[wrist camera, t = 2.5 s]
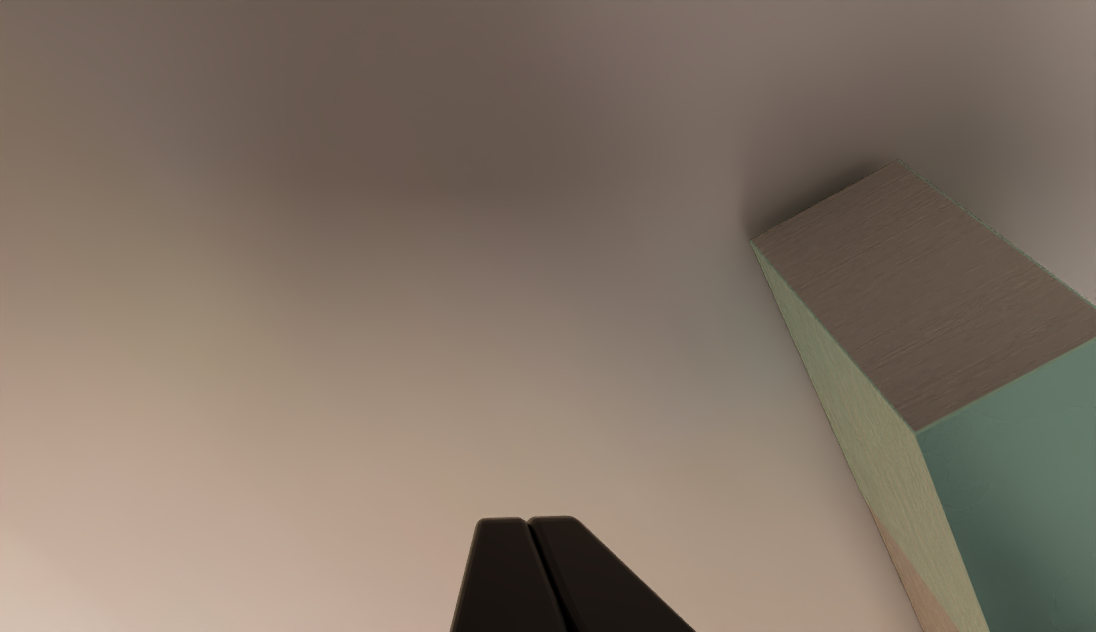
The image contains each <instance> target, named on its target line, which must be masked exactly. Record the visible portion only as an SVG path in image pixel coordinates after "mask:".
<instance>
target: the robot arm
mask: <svg viewBox="0 0 1096 632" xmlns="http://www.w3.org/2000/svg"><path fill="white" fill-rule="evenodd" d="M450 632H696V631H695V630H694V629H693V628H692V627H690V626H689V625H688V624H687V623H686V622H685V621H684V620H683V619H682V618H681V617H680V616H679V615H678V614H677V613H676V612H675V611H674V610H673V609H672V608H671V607H669V606H668V605H667V604H666V603H665V602H664V601H663V600H662V599H661V598H660V597H659V596H658V595H657V594H656V593H655V592H654V591H653V590H652V589H651V588H649V587H648V586H647V585H646V584H645V583H644V582H643V581H642V580H641V579H640V578H639V577H638V576H637V575H636V574H635V573H634V572H633V571H632V570H631V569H630V568H628V567H627V566H626V565H625V564H624V563H623V562H622V561H621V560H620V559H619V558H618V557H617V556H616V555H615V554H614V553H613V552H612V551H611V550H610V549H609V548H607V547H606V546H605V545H604V544H603V543H602V542H601V541H600V540H599V539H598V538H597V537H596V536H595V535H594V534H593V533H592V532H591V531H590V530H589V529H588V528H586V527H585V526H584V525H583V524H582V523H581V522H580V521H579V520H578V519H576V518H574V517H571V516H541V517H532V518H531V519H529V520H528V521H527V522H526V521H525V520H523V519H521V518H519V517H505V518H483V519H481V520H479V521H478V522H477V524H476V527H475V531H474V535H473V539H472V543H471V547H470V551H469V555H468V559H467V563H466V567H465V571H464V575H463V580H462V584H461V588H460V592H459V596H458V600H457V604H456V608H455V612H454V616H453V620H452V624H451V628H450Z"/></svg>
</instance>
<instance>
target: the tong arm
mask: <svg viewBox="0 0 1096 632" xmlns="http://www.w3.org/2000/svg"><path fill="white" fill-rule="evenodd" d="M750 243H751V245H752V248H753V250H754V252H755V254H756V257H757V259H758V261H759V264H760V266H761V268H762V270H763V273H764V275H765V277H766V279H767V282H768V284H769V286H770V288H771V291H772V293H773V295H774V297H775V300H776V302H777V304H778V306H779V309H780V311H781V313H782V315H783V318H784V320H785V322H786V324H787V327H788V329H789V331H790V333H791V336H792V338H793V340H794V343H795V345H796V347H797V349H798V352H799V354H800V356H801V358H802V361H803V363H804V365H805V367H806V370H807V372H808V374H809V376H810V379H811V381H812V383H813V385H814V388H815V390H816V392H817V394H818V397H819V399H820V401H821V403H822V406H823V408H824V410H825V413H826V415H827V417H828V419H829V422H830V424H831V426H832V428H833V431H834V433H835V435H836V437H837V440H838V442H839V444H840V446H841V449H842V451H843V453H844V455H845V458H846V460H847V462H848V464H849V467H850V469H851V471H852V473H853V476H854V478H855V480H856V482H857V485H858V487H859V489H860V492H861V494H862V496H863V497H864V499H865V500H866V502H867V504H868V506H869V509H870V511H871V513H872V515H873V518H874V520H875V522H876V524H877V527H878V529H879V531H880V533H881V536H882V538H883V540H884V543H885V545H886V547H887V549H888V552H889V554H890V556H891V558H892V561H893V563H894V565H895V567H896V570H897V572H898V574H899V576H900V579H901V581H902V583H903V586H904V588H905V590H906V592H907V595H908V597H909V599H910V601H911V604H912V606H913V608H914V610H915V613H916V615H917V617H918V619H919V622H920V624H921V626H922V629H923V631H924V632H1096V306H1094V305H1093V304H1092V303H1090V302H1089V301H1087V300H1086V299H1085V298H1083V297H1082V296H1081V295H1079V294H1078V293H1077V292H1075V291H1074V290H1073V289H1071V288H1070V287H1069V286H1067V285H1066V284H1065V283H1063V282H1062V281H1061V280H1059V279H1058V278H1057V277H1055V276H1054V275H1053V274H1051V273H1050V272H1049V271H1047V270H1046V269H1045V268H1043V267H1042V266H1040V265H1039V264H1038V263H1036V262H1035V261H1034V260H1032V259H1031V258H1030V257H1028V256H1027V255H1026V254H1024V253H1023V252H1022V251H1020V250H1019V249H1018V248H1016V247H1015V246H1014V245H1012V244H1011V243H1010V242H1008V241H1007V240H1006V239H1004V238H1003V237H1002V236H1000V235H999V234H998V233H996V232H995V231H993V230H992V229H991V228H989V227H988V226H987V225H985V224H984V223H983V222H981V221H980V220H979V219H977V218H976V217H975V216H973V215H972V214H971V213H969V212H968V211H967V210H965V209H964V208H963V207H961V206H960V205H959V204H957V203H956V202H955V201H953V200H952V199H951V198H949V197H948V196H946V195H945V194H944V193H942V192H941V191H940V190H938V189H937V188H936V187H934V186H933V185H932V184H930V183H929V182H928V181H926V180H925V179H924V178H922V177H921V176H920V175H918V174H917V173H916V172H914V171H913V170H912V169H910V168H909V167H908V166H906V165H905V164H904V163H902V162H901V161H899V160H896V161H894V162H892V163H890V164H888V165H887V166H885V167H883V168H881V169H879V170H878V171H876V172H874V173H872V174H870V175H868V176H867V177H865V178H863V179H861V180H859V181H857V182H856V183H854V184H852V185H850V186H848V187H846V188H845V189H843V190H841V191H839V192H837V193H836V194H834V195H832V196H830V197H828V198H826V199H825V200H823V201H821V202H819V203H817V204H815V205H814V206H812V207H810V208H808V209H806V210H804V211H803V212H801V213H799V214H797V215H795V216H794V217H792V218H790V219H788V220H786V221H784V222H783V223H781V224H779V225H777V226H775V227H773V228H772V229H770V230H768V231H766V232H764V233H762V234H761V235H759V236H757V237H755V238H753V239H752V240H750Z"/></svg>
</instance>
